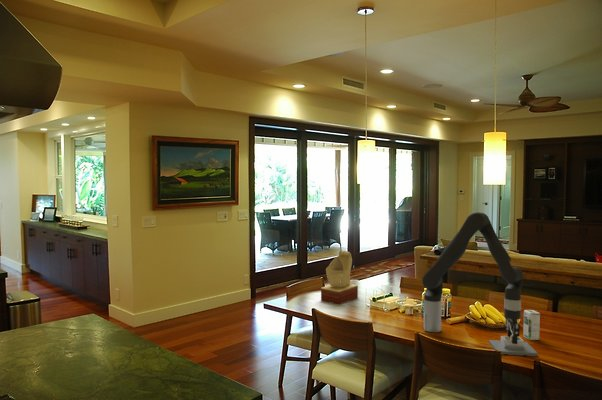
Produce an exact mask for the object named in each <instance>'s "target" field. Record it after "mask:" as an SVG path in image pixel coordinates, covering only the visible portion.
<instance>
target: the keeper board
mask: <svg viewBox="0 0 602 400" xmlns="http://www.w3.org/2000/svg"><path fill="white" fill-rule="evenodd" d="M510 339H511V340H512V335H511V336H510ZM488 344H489V345H490V346H491V348H492V349H493V350H494V349H495V350H498V351H501V352H502V354H501V355H504V354H508V356H523V355H527V356H526V357H528V356H529V357H538V352H537V351H536V350H535V349H534V348H533V347H532V346H531V345H530V344H529V343H528V341H524V349H513V348H504V347H503V346H502V345H501V340H495V339H489V340H488ZM495 350H494V351H495Z"/></svg>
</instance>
